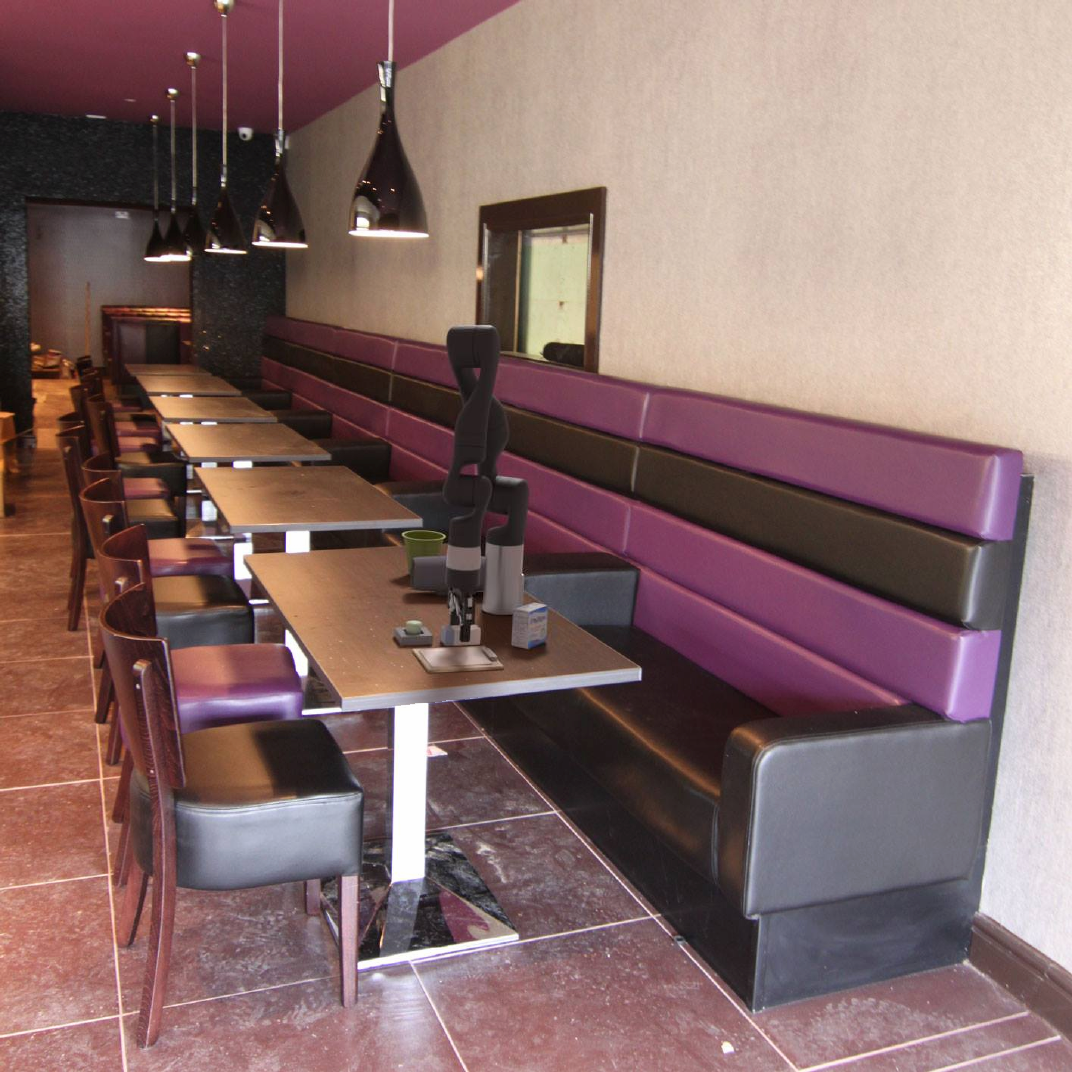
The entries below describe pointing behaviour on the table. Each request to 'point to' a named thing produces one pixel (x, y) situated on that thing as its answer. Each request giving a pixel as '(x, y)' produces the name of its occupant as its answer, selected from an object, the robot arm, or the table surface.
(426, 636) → the button housing
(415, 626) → the button
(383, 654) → the table surface
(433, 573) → the bluetooth speaker
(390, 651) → the table surface
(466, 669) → the clipboard
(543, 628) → the medicine box
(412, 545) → the plant pot
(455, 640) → the white carton blue base
